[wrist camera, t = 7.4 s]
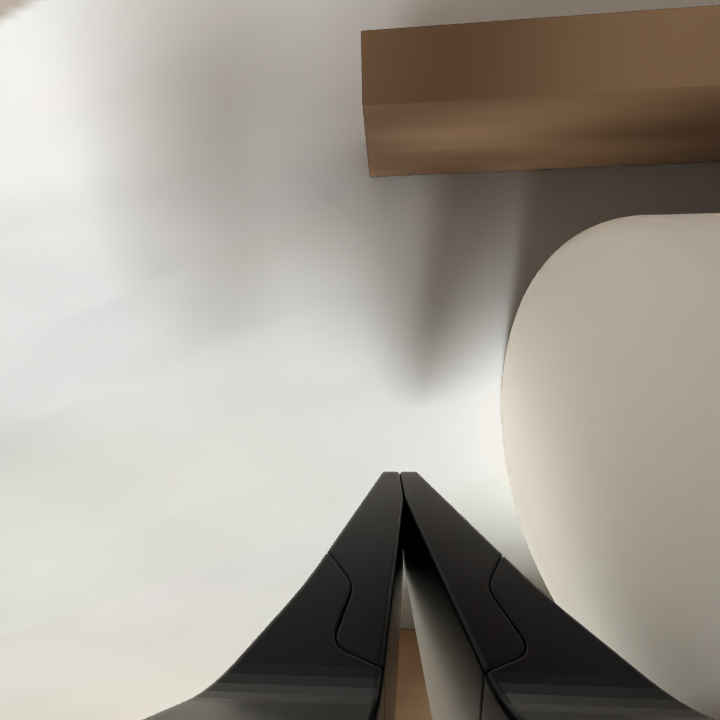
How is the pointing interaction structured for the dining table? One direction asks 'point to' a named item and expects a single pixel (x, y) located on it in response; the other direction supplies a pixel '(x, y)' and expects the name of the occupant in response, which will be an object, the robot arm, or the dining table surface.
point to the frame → (538, 117)
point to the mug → (625, 441)
